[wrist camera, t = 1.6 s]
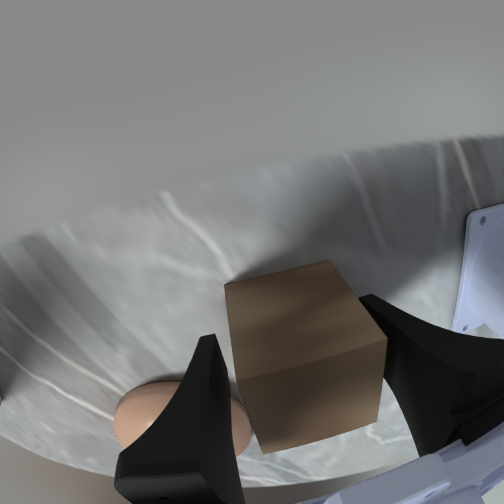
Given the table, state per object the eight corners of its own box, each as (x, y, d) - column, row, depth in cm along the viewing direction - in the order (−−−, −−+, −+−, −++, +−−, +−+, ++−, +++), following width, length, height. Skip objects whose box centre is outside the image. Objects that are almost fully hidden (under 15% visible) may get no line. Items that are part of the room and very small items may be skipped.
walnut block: (327, 259, 14) (387, 338, 9) (333, 338, 15) (376, 421, 10) (224, 284, 13) (236, 380, 8) (245, 361, 15) (263, 454, 10)
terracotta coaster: (231, 368, 15) (233, 383, 14) (259, 446, 19) (261, 458, 18) (91, 390, 15) (88, 403, 14) (148, 461, 18) (147, 472, 17)
